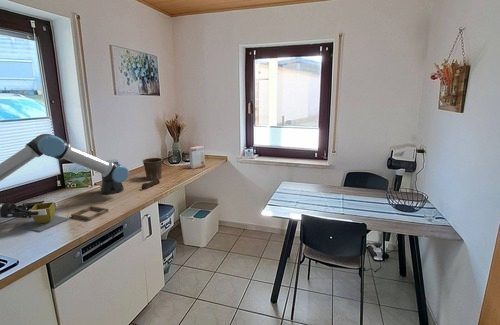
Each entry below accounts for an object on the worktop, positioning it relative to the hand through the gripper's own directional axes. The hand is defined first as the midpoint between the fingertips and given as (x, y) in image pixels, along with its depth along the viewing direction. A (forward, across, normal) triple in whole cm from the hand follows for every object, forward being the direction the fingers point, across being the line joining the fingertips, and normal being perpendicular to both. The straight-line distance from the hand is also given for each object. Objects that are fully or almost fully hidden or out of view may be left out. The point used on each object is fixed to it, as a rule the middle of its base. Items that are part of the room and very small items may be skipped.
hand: (51, 208), depth 147 cm
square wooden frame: (+16, -8, -8) cm, 20 cm away
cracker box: (+78, -112, -9) cm, 137 cm away
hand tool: (+42, -56, -9) cm, 71 cm away
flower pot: (-4, -1, -8) cm, 9 cm away
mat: (-4, 0, -8) cm, 9 cm away
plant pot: (+41, -80, -9) cm, 90 cm away
